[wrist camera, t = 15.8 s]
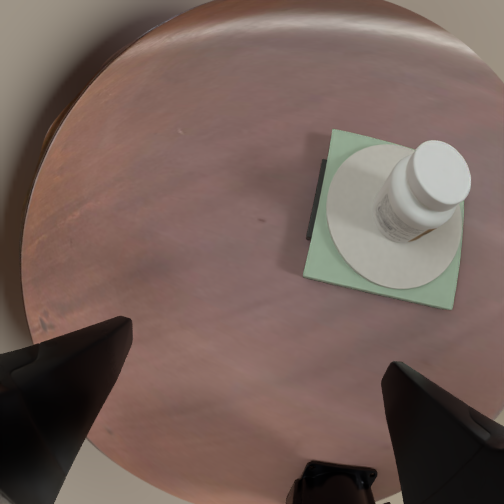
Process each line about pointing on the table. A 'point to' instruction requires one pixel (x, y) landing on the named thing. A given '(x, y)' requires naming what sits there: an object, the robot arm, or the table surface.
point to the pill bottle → (421, 192)
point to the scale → (375, 230)
